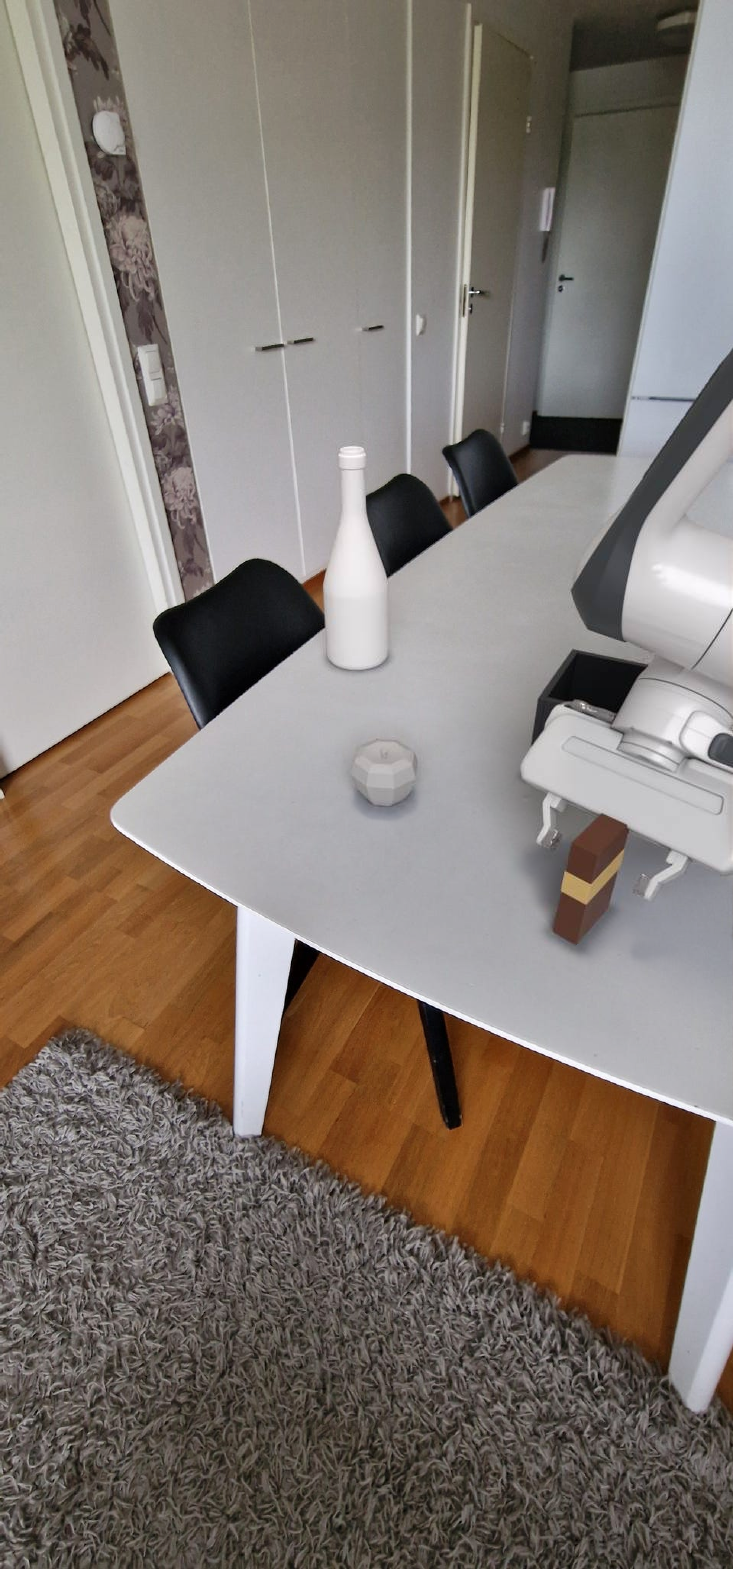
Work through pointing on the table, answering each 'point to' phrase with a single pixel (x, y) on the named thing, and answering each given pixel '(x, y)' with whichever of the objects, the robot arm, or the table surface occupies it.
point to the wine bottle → (355, 578)
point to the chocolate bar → (590, 877)
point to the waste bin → (587, 684)
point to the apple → (384, 771)
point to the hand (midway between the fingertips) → (591, 871)
